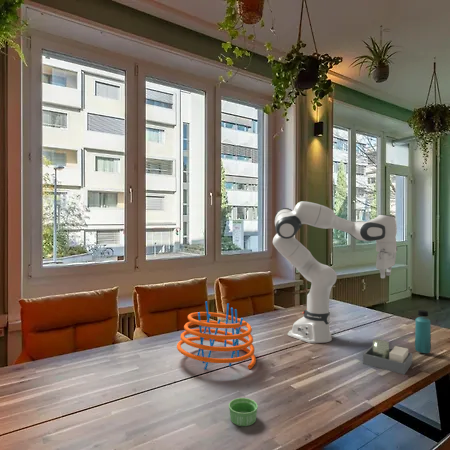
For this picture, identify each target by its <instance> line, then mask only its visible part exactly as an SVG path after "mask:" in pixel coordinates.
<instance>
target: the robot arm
mask: <svg viewBox="0 0 450 450" xmlns="http://www.w3.org/2000/svg"><path fill="white" fill-rule="evenodd" d="M335 213H336V212H335V211H334V210H333V209H332V208H330V207H328V206H326V205H323V204H319V203H315V202H311V201H303V200H302V201H299V202H297V204H295V206H294V208H293V209H291V208H289V207H282V208H280V209H279V210H278V211H276V214H275V215H274V227H275V232H276V233H275V235H274V237H273V238H272V245H273V247H274V248H275V249H276V250H277V252H278V253H279V254H280V255H281V256H282V257H283V258H284V259H285V260H286V261H287V262H289V264H291V265H292V266H293V267H294V268H295V269H296V270H297V271H298V272H299V273H300V274H301V276H302V277H303V278H304V279H305V280H306V281H307V282H310V284H311V285H310V289H309V291H308V293H307V295H306V309H305V310H303V311H302V312H301V314H302V315H303V316H302V317H300V318H298V319H297V320H295V321H294V323H293V324H292V327H291V328H292V329H290V330H289V331H288V332H287V336H289V337H291V338H295V339H297V340H300V341H302V342H306V343H308V344H316V343H323V344H324V343H329V342H331V341H332V340H333V338H332V334H331V330H330V329H331V327H330V322H331V313H330V312H331V311H330V297H331V290H332V288H333V286H334V285H335V284H336V283H337V279H338V275H337V272H336V271H335V270H334V269H333V268H332V267H331V266H329V265H327V264H324V263H321V262H319V261H318V260H317V259H316V258H315V257H314V256H313V255H312V253H311V251H310V250H309V249H308V248H307V247H305V245H303V244H302V243H301V242H300V241H299V240H298V239H297V238H296V237H295V236H296V234H298V232H299V230H300V229H301V228H302V225H309V226H311V227H315V228H319V229H324V230H325V229H326V230H327V229H333V230H338V231H340V232H343V233H347V234H348V235H350V236H351V237H352V238H353V239H354V240H357V241H361V242H362V241H363V242H374V241H376V242H375V244H376V245H375V252H377V255H376V262H375V267H376V269H377V270H379V274H380V278H381V279H386V276H391V273H392V268H393V267H394V266H395V264H396V260H397V252H398V246H397V238H396V237H397V232H398V231H397V229H398V228H397V220H396V218H395V217H394V216H392V215H389V214H378V215H377V216H376V217H374V218H372V219H369V220H367V221H363V220H356V221H353V220H348V219H347V218H343V217H340V216H338V215H337V214H335Z"/></svg>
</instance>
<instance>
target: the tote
mask: <svg viewBox="0 0 450 450" xmlns="http://www.w3.org/2000/svg"><path fill="white" fill-rule="evenodd" d="M392 349H393V348H391V347H389V353H390V352H391V350H392ZM372 352H373V344H372V345H371V346H370V347H369V348H368V349H367V350H365V351H364V352H363V354H362V364H363V365H367V366H370V367H373V368H377V369H380V370H381V369H382V370H385V371H389V372H393V373H396V374H399V375H400V374H401V375H406V373H408V370H410V369H409V368H410V367H411V366H412V365H413V353H412V352H408V358H407V359H406V360H405V362H404V363H401V362H397V361H392V360H388V359H384V358H380V357H376V356H372Z"/></svg>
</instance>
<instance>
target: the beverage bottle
mask: <svg viewBox="0 0 450 450" xmlns="http://www.w3.org/2000/svg"><path fill="white" fill-rule="evenodd" d="M417 315H418V317H416V318H415V320H414V321H415V327H414V328H415V329H414V338H415V339H414V349H415V351H416V352H419V353H421V354H431V351H432V342H431V340H432V332H431V331H432V329H431V327H432V323H431V320H430V319H429V318H428V317H429V312H428V311H427V310H425V309H419V310H418V311H417Z"/></svg>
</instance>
